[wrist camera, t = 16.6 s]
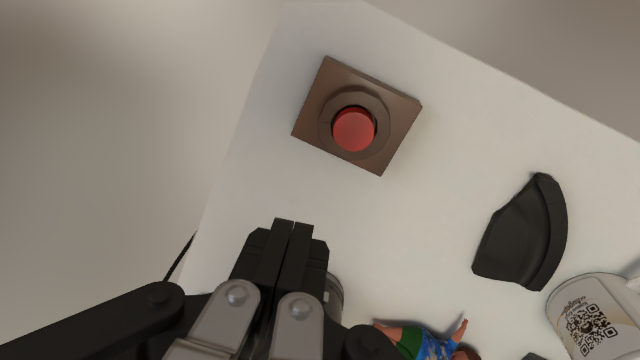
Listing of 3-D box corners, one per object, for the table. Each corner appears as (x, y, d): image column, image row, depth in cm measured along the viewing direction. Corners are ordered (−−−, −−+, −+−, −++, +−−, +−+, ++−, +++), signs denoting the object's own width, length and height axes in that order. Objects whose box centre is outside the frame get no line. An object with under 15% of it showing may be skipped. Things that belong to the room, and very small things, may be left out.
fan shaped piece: (595, 183, 38) (604, 190, 36) (536, 283, 44) (542, 293, 43) (514, 167, 38) (520, 173, 36) (467, 269, 44) (471, 278, 43)
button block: (419, 100, 36) (426, 112, 32) (379, 168, 40) (381, 185, 36) (326, 55, 35) (322, 61, 31) (293, 128, 38) (286, 141, 35)
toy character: (391, 316, 42) (514, 353, 43) (388, 288, 47) (501, 321, 47) (356, 383, 48) (465, 414, 49) (356, 352, 52) (457, 381, 53)
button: (380, 117, 33) (381, 123, 32) (362, 150, 35) (362, 157, 33) (344, 100, 33) (344, 105, 32) (327, 134, 35) (326, 141, 33)
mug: (535, 281, 44) (585, 364, 34) (650, 250, 41) (744, 332, 31) (554, 341, 48) (605, 431, 38) (662, 317, 44) (748, 409, 34)
